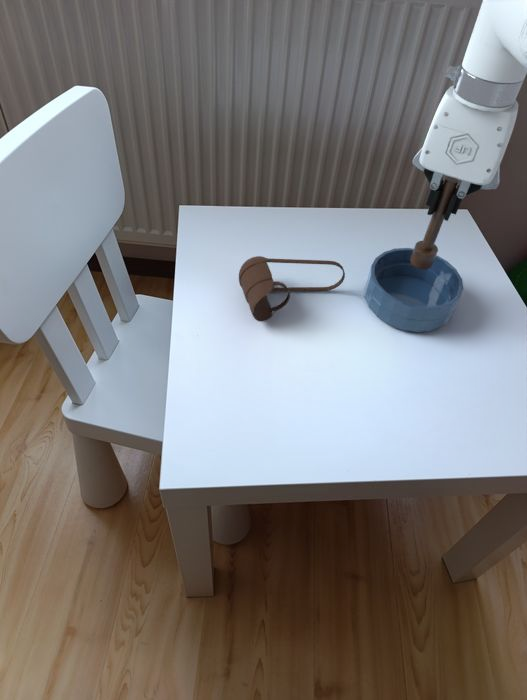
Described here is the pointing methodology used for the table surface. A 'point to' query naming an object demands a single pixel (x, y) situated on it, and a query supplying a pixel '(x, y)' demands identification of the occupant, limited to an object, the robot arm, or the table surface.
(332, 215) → the table surface
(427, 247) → the stirring stick
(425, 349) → the table surface
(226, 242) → the table surface
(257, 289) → the brown barrel bag
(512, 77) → the robot arm
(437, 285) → the bowl
